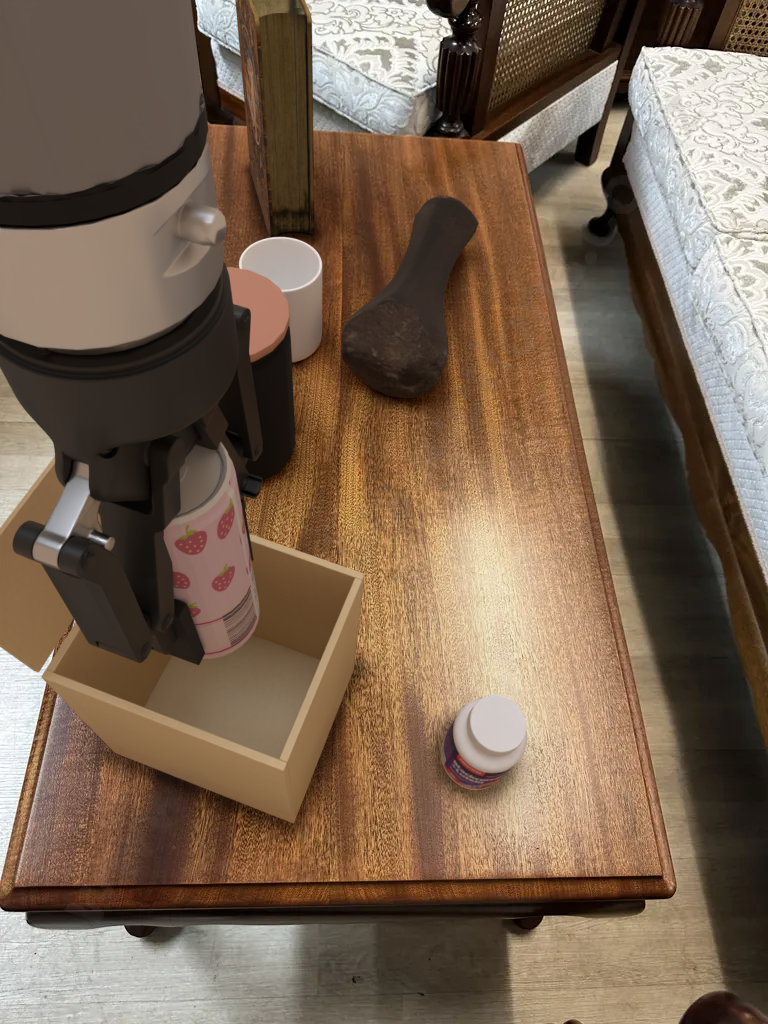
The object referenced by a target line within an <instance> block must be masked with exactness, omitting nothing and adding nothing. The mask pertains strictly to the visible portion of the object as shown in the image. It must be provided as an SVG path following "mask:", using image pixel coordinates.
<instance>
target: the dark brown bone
mask: <svg viewBox="0 0 768 1024" xmlns="http://www.w3.org/2000/svg"><path fill="white" fill-rule="evenodd" d="M479 224H480V222H479V220H478V218H477V217H476V216H475V214H474V213H473V212H472V210H470V209H469V208H468V206H466V204H464V202H462V201H461V200H460V199H458V198H455V197H453V196H448V195H438V196H437V195H436V196H434V197H431V198H429V199H427V200H425V202H424V203H423V204H422V206H421V207H420V208H419V210H418V211H417V212H416V214H415V216H414V221H413V225H412V230H411V234H410V239H409V242H408V245H407V248H406V251H405V255H404V256H403V259H402V260H401V264H400V265H399V267H398V269H397V270H396V272H395V274H394V276H393V277H392V278H391V280H389V282H388V283H387V285H386V286H384V287H383V289H382V290H380V292H378V294H376V295H375V296H374V297H373V298H372V299H371V300H370V301H368V302H366V303H364V304H363V305H362V307H360V308H358V310H356V311H355V312H354V313H353V314H352V315H351V316H350V317H349V318H348V320H347V321H346V322H345V324H344V327H343V331H342V336H341V337H342V338H341V339H342V341H341V343H342V344H341V356H342V360H343V361H344V363H345V364H346V366H347V368H348V369H349V371H350V372H351V373H352V374H353V375H354V376H355V377H356V378H358V379H359V380H361V381H362V382H363V383H364V384H365V385H366V386H368V387H370V388H371V389H373V390H375V391H376V392H379V393H382V394H384V395H386V396H389V397H395V398H406V399H412V398H418V397H422V396H424V395H426V394H428V393H429V392H430V391H431V389H433V387H435V385H436V384H437V383H438V381H439V379H440V377H441V375H442V373H443V371H444V369H445V367H446V365H447V362H448V356H449V339H448V334H447V327H446V322H445V314H444V305H445V304H444V303H445V295H446V288H447V284H448V281H449V279H450V275H451V273H452V270H453V268H454V266H455V264H456V262H457V261H458V259H459V257H460V256H461V253H462V252H463V251H464V250H465V248H466V247H467V245H468V244H469V242H470V241H471V239H472V238H473V237H474V235H475V234H476V233H477V229H478V226H479Z"/></svg>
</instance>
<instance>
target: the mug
mask: <svg viewBox="0 0 768 1024" xmlns="http://www.w3.org/2000/svg"><path fill="white" fill-rule="evenodd" d="M238 268H239V269H245V270H250V271H253V272H255V273H257V274H259V275H262V276H264V277H266V278H268V279H269V280H271V281H272V282H273V283H274V284H275V285H276V286H278V287H279V288H280V289H281V291H282V292H283V294H284V296H285V298H286V299H287V301H288V304H289V315H290V321H289V326H290V335H291V351H292V363H297V362H300V361H303V360H305V359H307V358H309V357H310V356H312V355H313V354H314V353H315V352H316V351H317V349H318V348H319V347H320V344H321V342H322V337H323V260H322V258H321V255H320V254H319V252H318V251H317V250H316V249H315V248H314V247H313V246H312V245H310V244H309V243H306V242H305V241H303V240H300V239H297V238H294V237H286V236H275V237H272V238H270V237H267V238H263V239H260V240H257V241H255V242H254V243H252V244H250V245H249V246H248V247H247V248H245V250H243V252H242V253H241V255H240V256H239V261H238Z"/></svg>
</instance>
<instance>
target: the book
mask: <svg viewBox="0 0 768 1024" xmlns="http://www.w3.org/2000/svg"><path fill="white" fill-rule="evenodd" d="M234 2H235V3H234V4H235V13H236V23H237V24H236V25H237V35H238V47H239V58H240V69H241V70H240V71H241V78H242V79H241V81H242V90H243V102H244V103H243V104H244V114H245V124H246V134H247V135H246V136H247V146H248V157H249V168H250V173H251V176H252V180H253V184H254V188H255V191H256V195H257V198H258V201H259V205H260V209H261V212H262V215H263V219H264V223H265V226H266V229H267V233H268V236H269V238H272V237H277V236H278V235H280V234H284V233H289V232H297V233H298V232H299V233H306V234H310V235H314V234H315V154H314V153H315V149H314V147H315V146H314V145H315V144H314V142H315V141H314V79H313V78H314V74H313V73H314V71H313V68H314V67H313V66H314V65H313V61H314V60H313V19H312V18H313V17H312V14H311V11H310V9H309V6H308V4H307V2H306V0H234Z"/></svg>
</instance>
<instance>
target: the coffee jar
mask: <svg viewBox="0 0 768 1024" xmlns="http://www.w3.org/2000/svg"><path fill="white" fill-rule="evenodd" d="M226 267H227V270H228V273H229V277H230V284H231V292H232V299H233V304H236V305H239V306H242V307H245V308H248V309H250V312H251V327H250V345H249V354H250V361H251V367H252V374H253V381H254V387H255V394H256V401H257V407H258V414H259V421H260V427H261V434H262V441H263V445H262V448H263V449H262V452H261V454H260V455H259V457H258V459H257V460H256V461H253V460H250V459H248V461H247V463H246V466H245V468H246V469H247V471H248V473H249V474H252V475H255V476H258V477H261V478H262V479H263V483H264V482H267V481H268V480H270V479H271V478H274V476H276V475H277V474H279V473H280V472H282V471H283V470H284V468H285V467H286V465H287V464H288V463H289V461H290V460H291V459H292V458H293V454H294V451H295V448H296V445H297V439H296V419H295V418H296V417H295V416H296V415H295V396H294V378H293V377H294V375H293V362H292V351H291V335H290V326H289V321H290V315H289V304H288V301H287V299H286V298H285V296H284V294H283V292H282V291H281V289H280V288H279V287H278V286H276V285H275V284H274V283H273V282H272V281H271V280H269V279H268V278H266V277H264V276H262V275H259V274H257V273H255V272H253V271H250V270H245V269H239V267H233V266H226Z"/></svg>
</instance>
